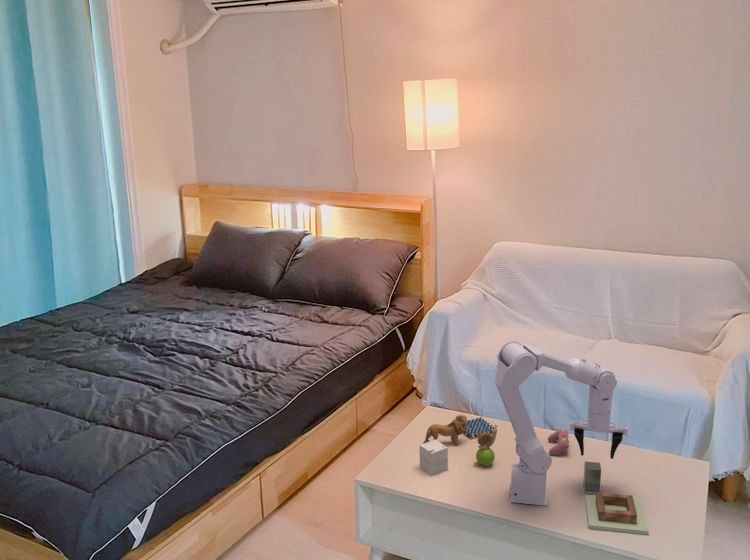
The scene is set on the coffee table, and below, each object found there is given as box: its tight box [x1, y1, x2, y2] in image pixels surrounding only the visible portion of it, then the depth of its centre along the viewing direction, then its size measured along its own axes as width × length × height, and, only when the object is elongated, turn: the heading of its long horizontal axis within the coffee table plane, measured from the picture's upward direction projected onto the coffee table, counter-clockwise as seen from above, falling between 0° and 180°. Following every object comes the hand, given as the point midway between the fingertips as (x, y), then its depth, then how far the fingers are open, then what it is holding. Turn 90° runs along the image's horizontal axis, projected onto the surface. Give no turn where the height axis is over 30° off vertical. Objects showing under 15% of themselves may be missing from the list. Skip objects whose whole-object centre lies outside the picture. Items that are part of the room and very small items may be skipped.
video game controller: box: [547, 427, 570, 456], centre depth 214 cm, size 10×5×7 cm, turn 169°
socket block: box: [584, 491, 649, 536], centre depth 180 cm, size 14×14×4 cm
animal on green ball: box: [475, 424, 498, 467], centre depth 205 cm, size 5×6×12 cm
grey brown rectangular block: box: [582, 461, 602, 494], centre depth 192 cm, size 4×4×7 cm
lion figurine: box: [422, 413, 468, 447], centre depth 218 cm, size 15×5×9 cm, turn 103°
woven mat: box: [462, 416, 496, 441], centre depth 228 cm, size 10×11×2 cm
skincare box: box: [419, 439, 449, 476], centre depth 204 cm, size 6×6×7 cm
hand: (596, 455), depth 192 cm, fingers open, 7 cm apart
